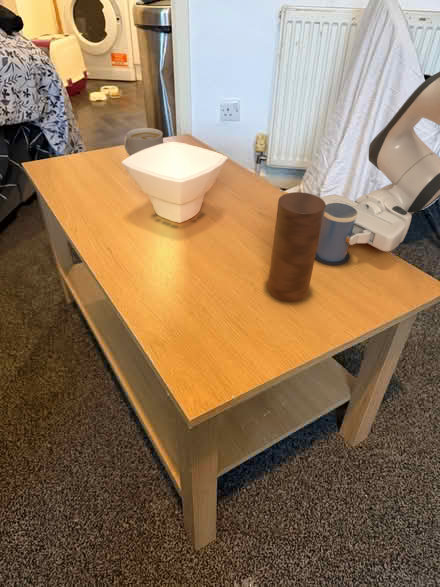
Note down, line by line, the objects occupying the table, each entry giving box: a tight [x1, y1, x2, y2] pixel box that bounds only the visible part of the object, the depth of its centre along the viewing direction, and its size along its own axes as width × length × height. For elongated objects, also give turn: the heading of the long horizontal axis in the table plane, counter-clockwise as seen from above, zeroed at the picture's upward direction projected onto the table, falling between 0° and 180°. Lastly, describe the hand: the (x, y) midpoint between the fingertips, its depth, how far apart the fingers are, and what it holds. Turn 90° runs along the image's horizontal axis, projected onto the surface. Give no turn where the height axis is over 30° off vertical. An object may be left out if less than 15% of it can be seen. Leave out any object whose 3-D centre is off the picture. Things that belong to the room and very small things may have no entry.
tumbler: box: [316, 203, 358, 262], centre depth 84 cm, size 7×7×10 cm
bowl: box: [121, 140, 229, 224], centre depth 95 cm, size 19×19×14 cm
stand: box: [267, 191, 326, 303], centre depth 72 cm, size 8×8×18 cm
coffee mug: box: [123, 127, 164, 157], centre depth 119 cm, size 13×10×10 cm
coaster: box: [314, 251, 350, 267], centre depth 87 cm, size 8×8×1 cm
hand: (332, 232), depth 83 cm, fingers closed on tumbler, 7 cm apart
